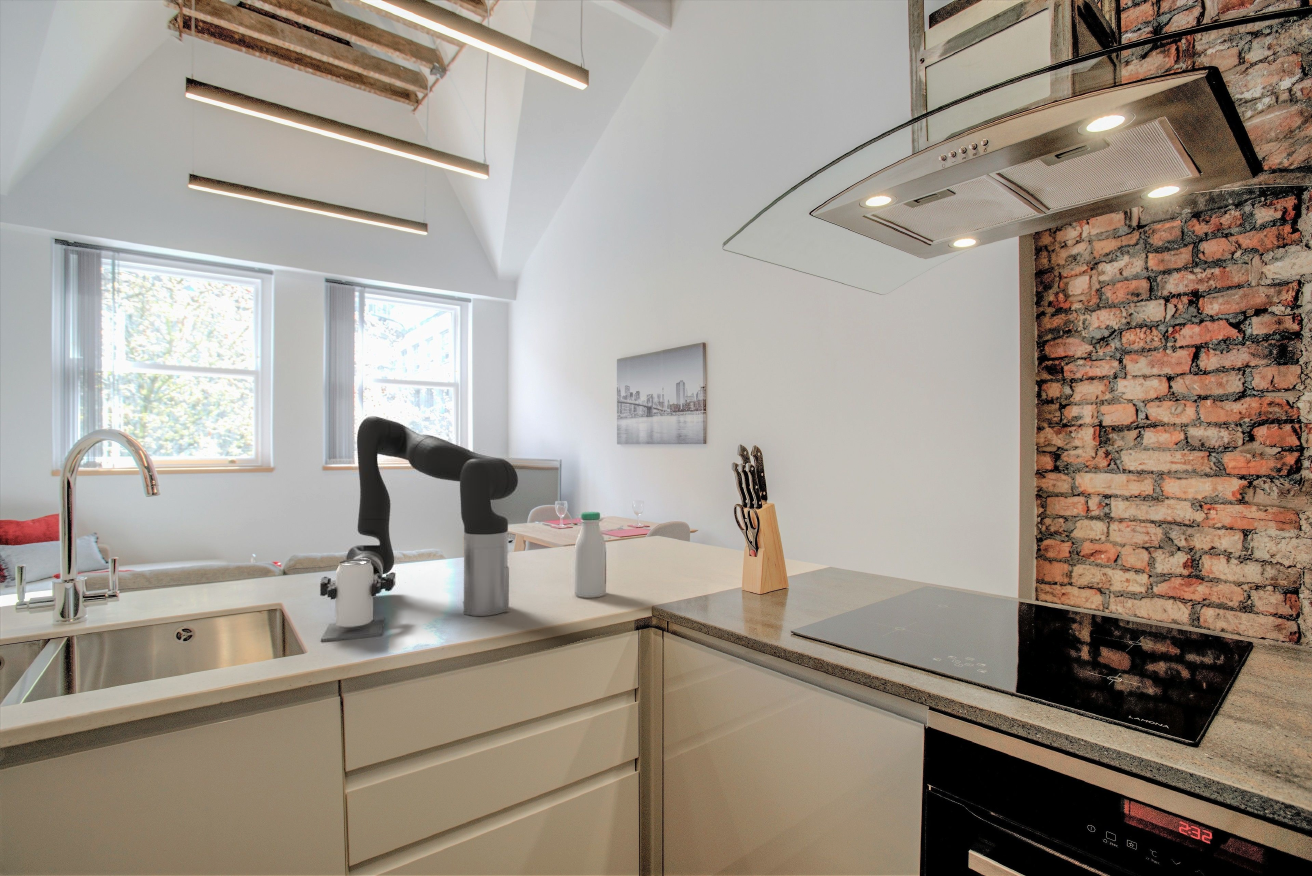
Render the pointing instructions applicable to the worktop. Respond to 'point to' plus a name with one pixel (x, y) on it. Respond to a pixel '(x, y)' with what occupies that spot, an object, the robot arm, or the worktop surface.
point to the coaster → (353, 631)
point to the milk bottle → (590, 558)
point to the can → (354, 593)
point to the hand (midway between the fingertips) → (353, 592)
